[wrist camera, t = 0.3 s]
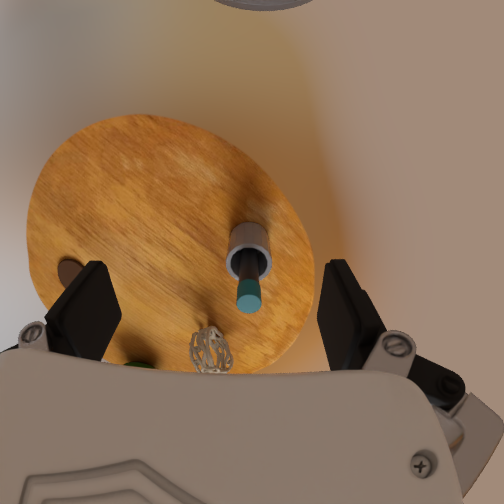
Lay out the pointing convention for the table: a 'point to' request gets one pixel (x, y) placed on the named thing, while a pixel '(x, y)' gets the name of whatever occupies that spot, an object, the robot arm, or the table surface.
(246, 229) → the pot
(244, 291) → the marker
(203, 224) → the table surface
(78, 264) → the coaster
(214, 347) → the bracelet
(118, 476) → the robot arm
